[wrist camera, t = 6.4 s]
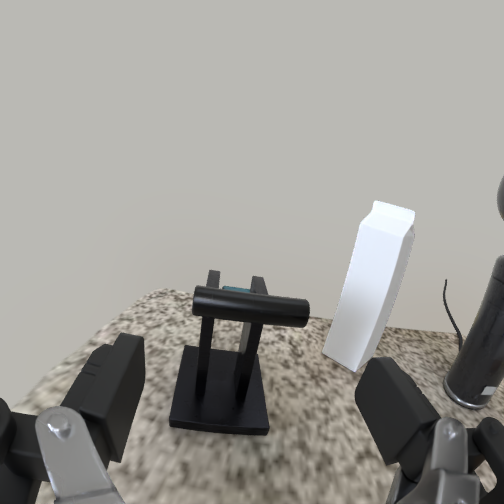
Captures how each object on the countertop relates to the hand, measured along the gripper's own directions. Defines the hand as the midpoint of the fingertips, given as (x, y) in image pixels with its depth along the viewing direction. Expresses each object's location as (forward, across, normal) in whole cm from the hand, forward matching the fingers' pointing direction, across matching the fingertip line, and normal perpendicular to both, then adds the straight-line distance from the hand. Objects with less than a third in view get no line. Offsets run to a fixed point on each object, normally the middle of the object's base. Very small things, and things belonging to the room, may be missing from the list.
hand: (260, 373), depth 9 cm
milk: (+23, -18, +16) cm, 33 cm away
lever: (+10, 0, +4) cm, 10 cm away
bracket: (+15, 0, +16) cm, 21 cm away
